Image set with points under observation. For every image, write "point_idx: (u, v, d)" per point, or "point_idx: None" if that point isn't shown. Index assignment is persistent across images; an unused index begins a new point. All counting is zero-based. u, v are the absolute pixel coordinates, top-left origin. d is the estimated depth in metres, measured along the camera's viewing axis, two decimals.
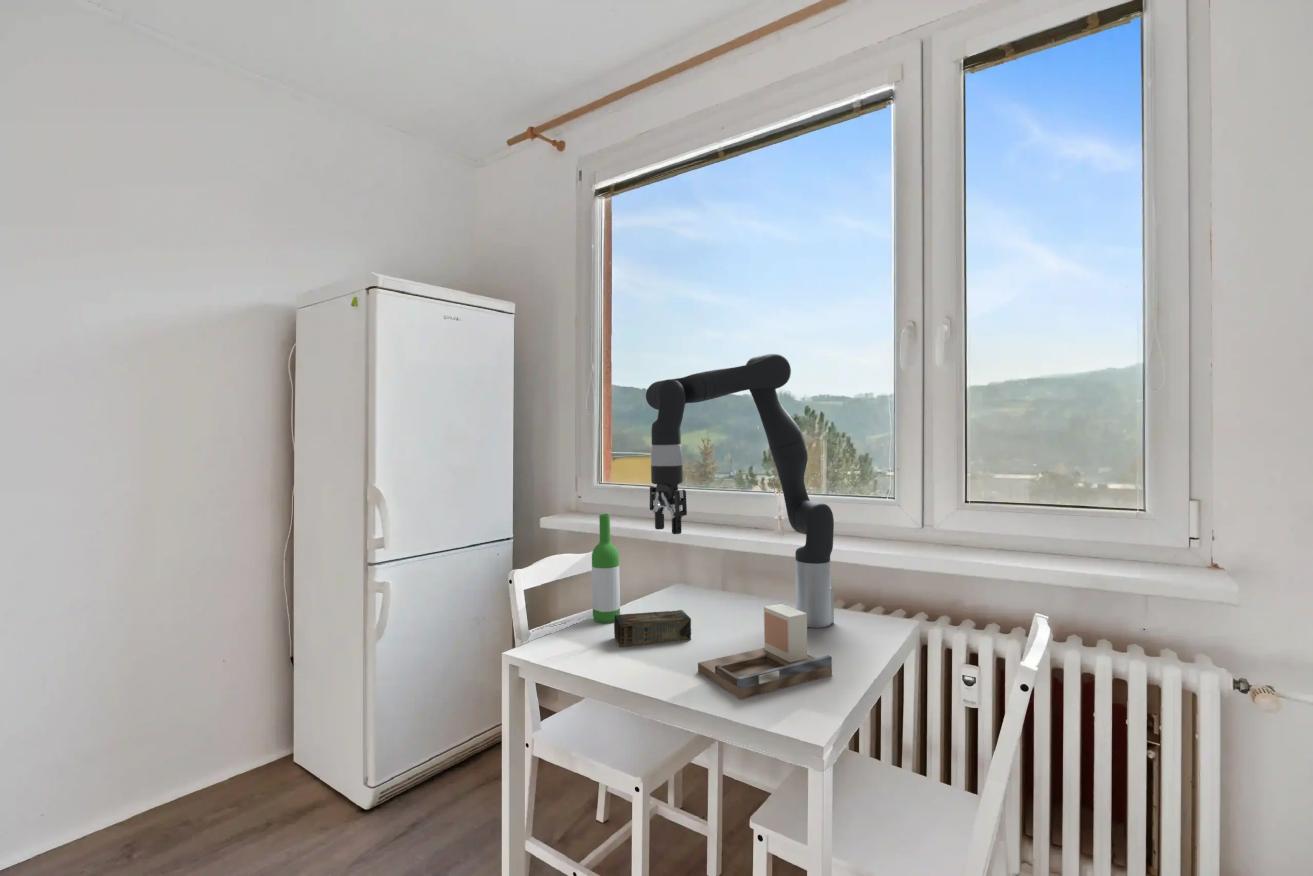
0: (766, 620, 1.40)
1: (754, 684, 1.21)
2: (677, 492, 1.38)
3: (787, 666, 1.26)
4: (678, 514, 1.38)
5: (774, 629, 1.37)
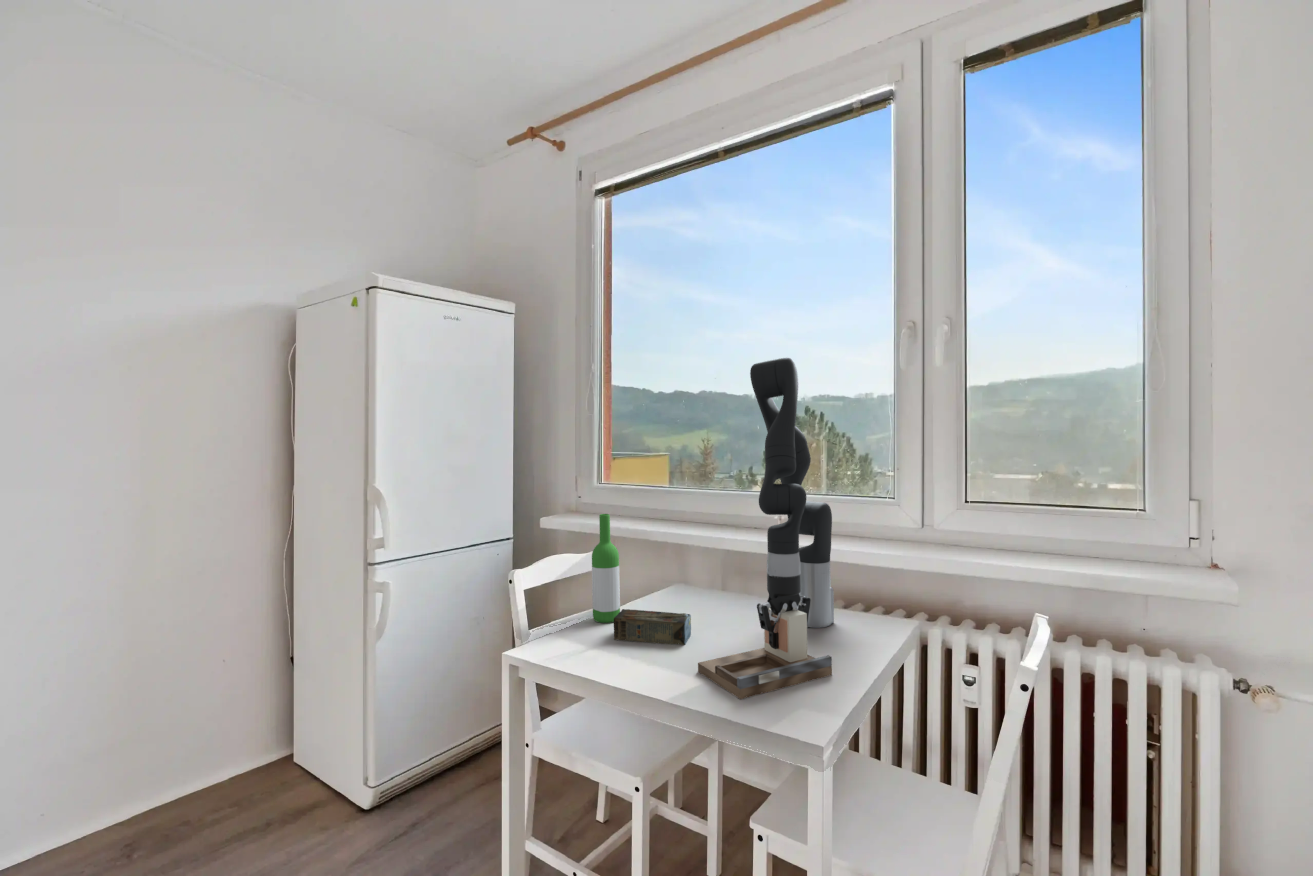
0: None
1: (754, 684, 1.21)
2: None
3: (787, 666, 1.26)
4: None
5: None
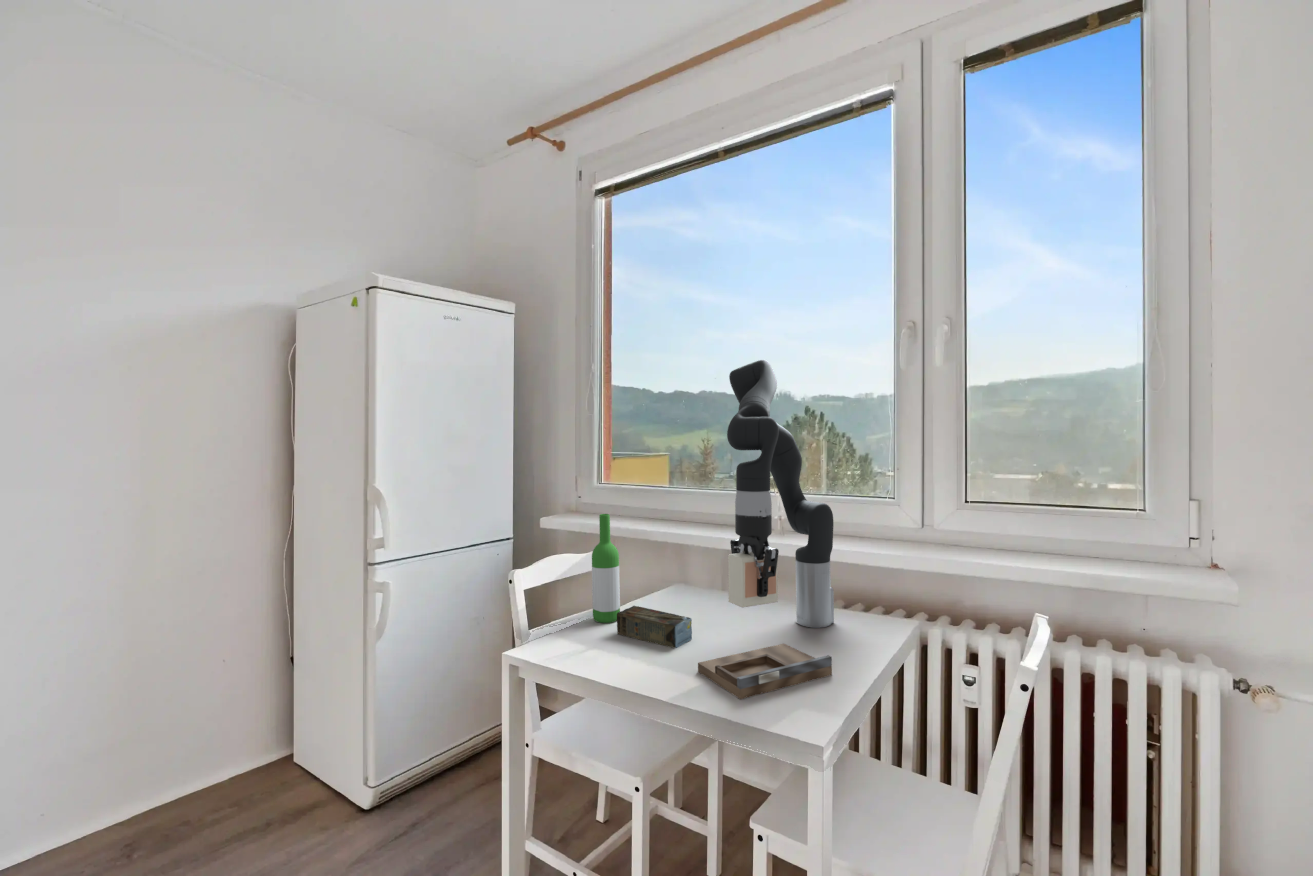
0: (748, 571, 1.23)
1: (754, 684, 1.21)
2: None
3: (787, 666, 1.26)
4: None
5: None
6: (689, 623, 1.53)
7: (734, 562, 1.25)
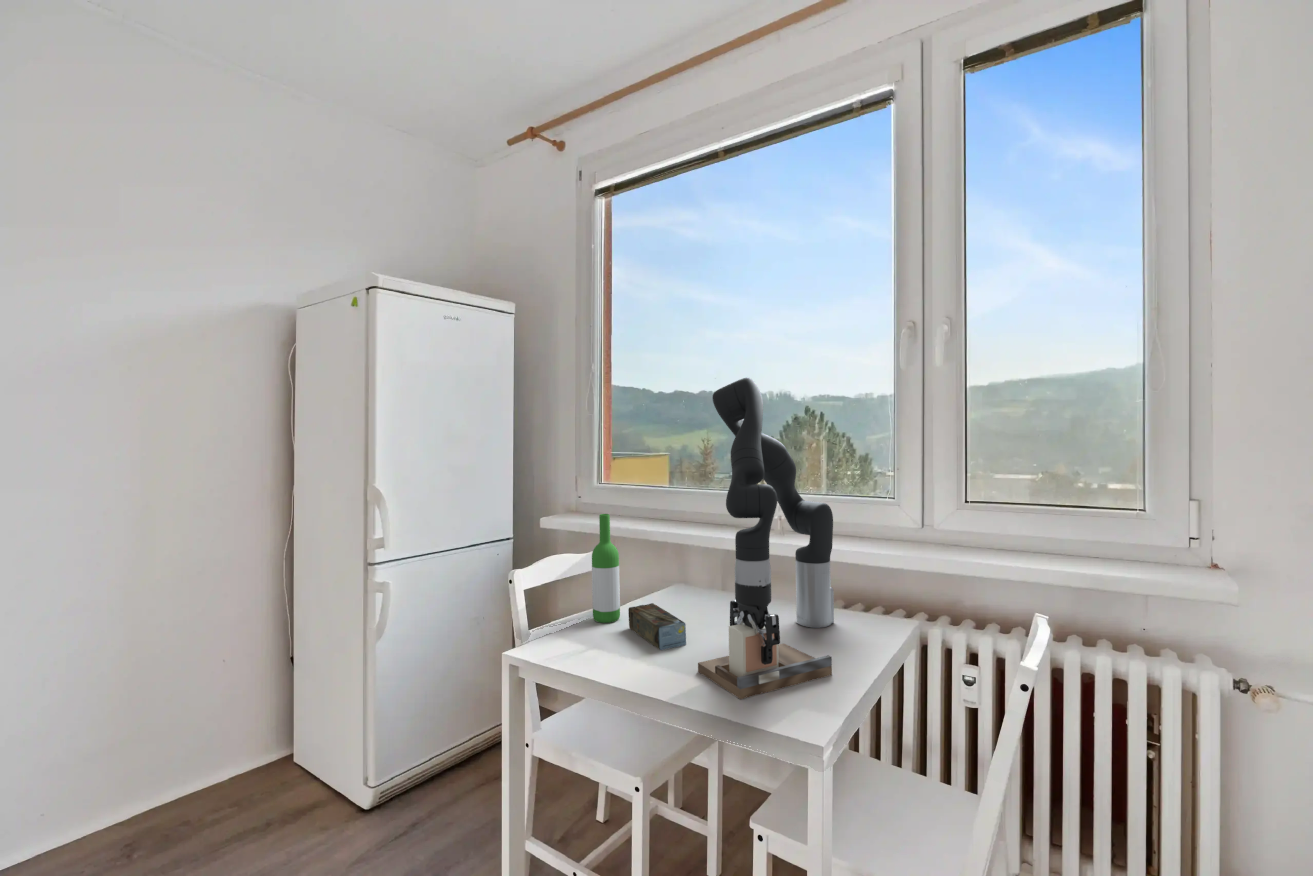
0: (749, 646, 1.23)
1: (754, 684, 1.21)
2: None
3: (787, 666, 1.26)
4: None
5: (760, 649, 1.25)
6: (681, 627, 1.50)
7: (735, 635, 1.25)
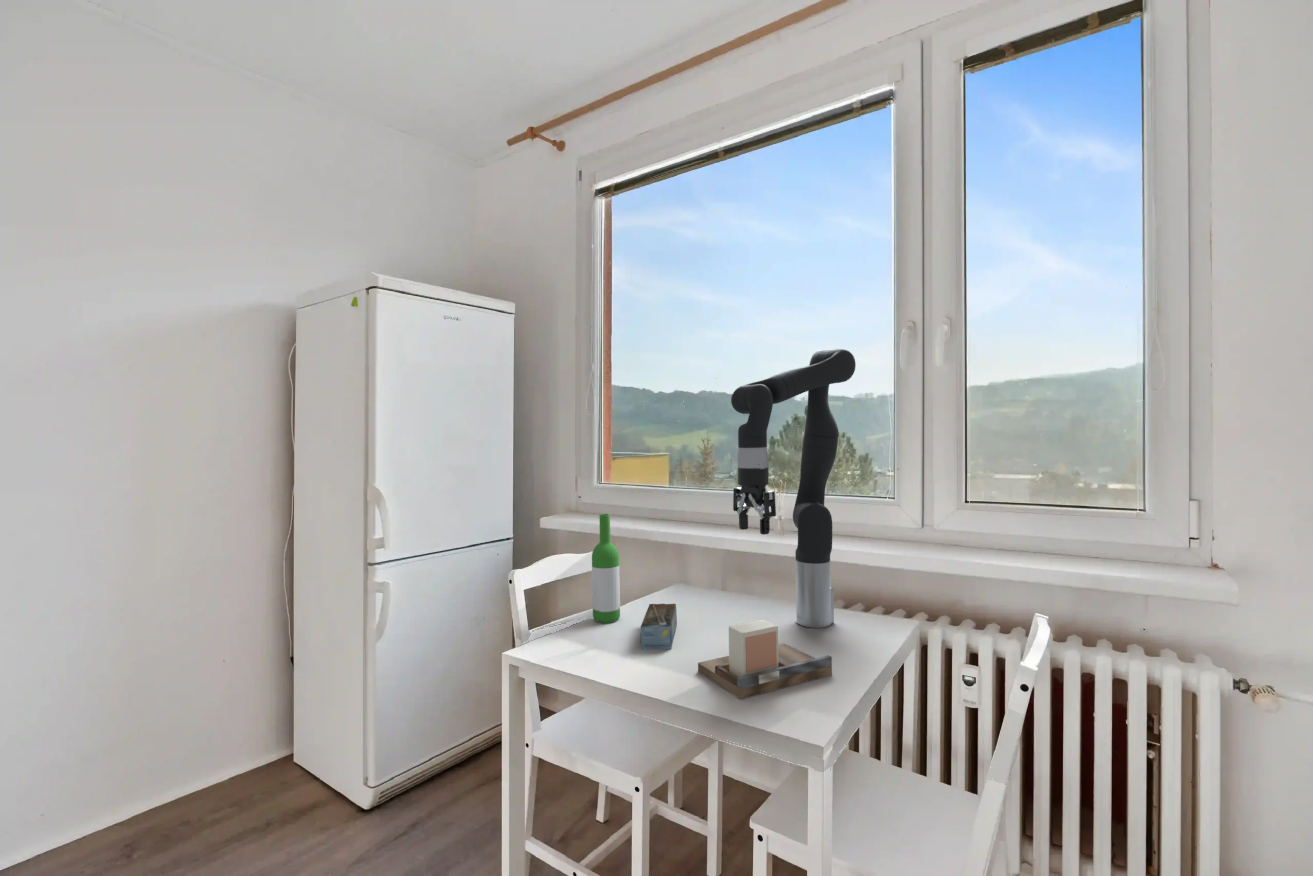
0: (749, 646, 1.23)
1: (754, 684, 1.21)
2: None
3: (787, 666, 1.26)
4: None
5: (760, 649, 1.25)
6: (665, 631, 1.48)
7: (735, 635, 1.25)
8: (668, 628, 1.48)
